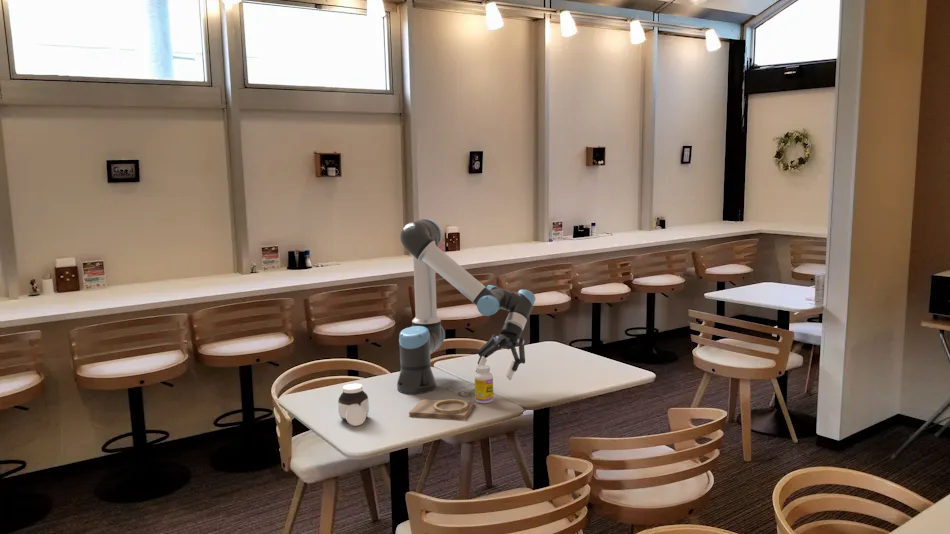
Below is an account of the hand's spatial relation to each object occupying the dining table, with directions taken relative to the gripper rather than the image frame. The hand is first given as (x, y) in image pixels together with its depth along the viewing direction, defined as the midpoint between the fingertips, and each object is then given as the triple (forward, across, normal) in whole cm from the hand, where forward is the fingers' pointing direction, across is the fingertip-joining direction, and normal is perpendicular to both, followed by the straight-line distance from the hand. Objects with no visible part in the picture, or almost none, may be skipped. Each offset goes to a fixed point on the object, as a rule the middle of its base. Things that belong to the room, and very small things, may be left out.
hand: (492, 375), depth 268 cm
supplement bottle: (+9, +2, -4) cm, 10 cm away
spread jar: (+36, +28, +24) cm, 52 cm away
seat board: (+20, +8, +8) cm, 23 cm away
